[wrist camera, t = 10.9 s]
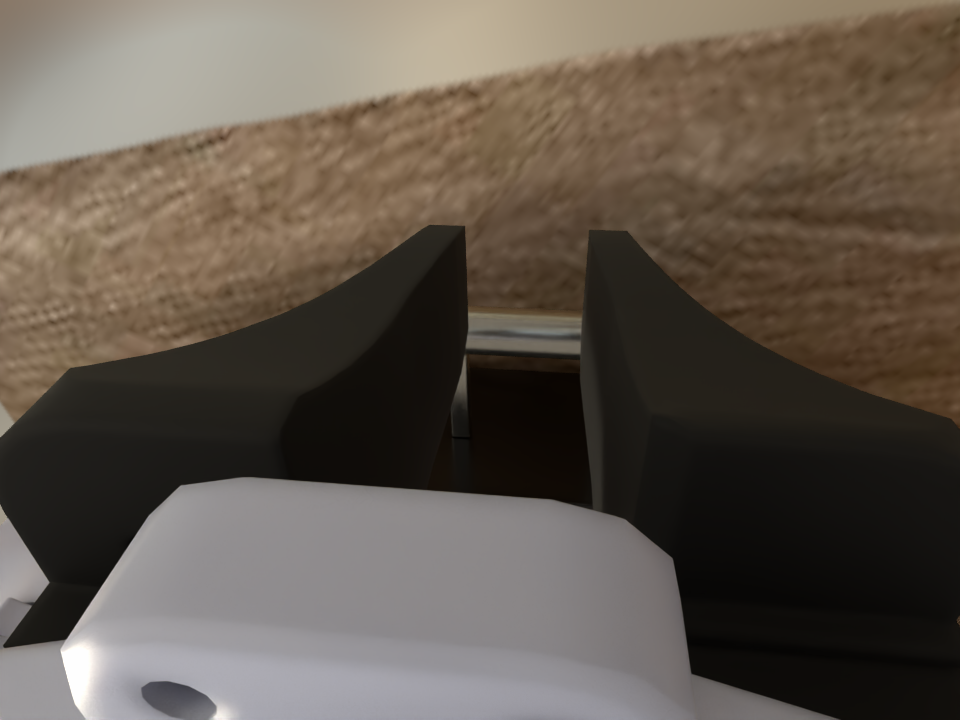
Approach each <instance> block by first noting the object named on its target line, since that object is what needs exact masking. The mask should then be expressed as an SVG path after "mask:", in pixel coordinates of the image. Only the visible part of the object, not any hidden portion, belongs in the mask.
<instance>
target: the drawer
mask: <svg viewBox="0 0 960 720" xmlns="http://www.w3.org/2000/svg"><path fill="white" fill-rule="evenodd" d="M582 314H583V311H577V310H555V309H532V308H510V307H487V306H468V324H469V329H468V335H467V342H466V349H465V355H464V361H463V367H462V373H461V376H460V380H459V383H458V386H457V390H456V393H455V396H454V399H453V403H452V406H451V409H450V412H449V416H448V419H447V422H446V425H445V428H444V432H443V435H442V438H441V441H440V445H439V448H438V451H437V454H436V457H435V461H434V464H433V467H432V470H431V474H430V478H429V482H428V486H427V490H430V491H443V492H457V493H470V494H484V495H497V496H511V497H524V498H537V499H551V500H556V501H559V502H563V503H567V504H571V505H575V506H579V507H582V508H586V509H590V510H593V499H592V483H591V473H590V464H589V455H588V447H587V438H586V429H585V420H584V411H583V402H582V393H581V384H580V374H577V373H559V372H540V371H522V370H504V369H485V368H470V357H469V354H476V355H496V356H515V357H534V358H553V359H572V360H580V353H581V326H582Z"/></svg>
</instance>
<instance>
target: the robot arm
mask: <svg viewBox="0 0 960 720" xmlns="http://www.w3.org/2000/svg"><path fill="white" fill-rule="evenodd" d="M468 329H469V324H468V296H467V267H466V239H465V226H449V225H429V226H427V227H425V228H423V229H422V230H420V231H419V232H417V233H416V234H415V235H413V236H412V237H410V238H409V239H408V240H406V241H405V242H403V243H402V244H401V245H399V246H398V247H397V248H395V249H394V250H392V251H391V252H389V253H388V254H387V255H385V256H384V257H382V258H381V259H380V260H378V261H377V262H375V263H374V264H372V265H371V266H369V267H368V268H366V269H365V270H363V271H361V272H360V273H358V274H356V275H355V276H353V277H352V278H350V279H348V280H347V281H345V282H344V283H342V284H340V285H339V286H337V287H335V288H334V289H332V290H330V291H328V292H327V293H325V294H323V295H321V296H319V297H317V298H315V299H313V300H311V301H309V302H307V303H305V304H303V305H300V306H298V307H296V308H294V309H292V310H290V311H288V312H285V313H283V314H280V315H278V316H275V317H273V318H270V319H267V320H265V321H262V322H259V323H256V324H254V325H251V326H248V327H245V328H243V329H240V330H237V331H235V332H232V333H229V334H226V335H222V336H219V337H216V338H212V339H209V340H205V341H202V342H198V343H195V344H191V345H187V346H183V347H179V348H175V349H171V350H167V351H162V352H158V353H153V354H149V355H143V356H138V357H132V358H127V359H121V360H116V361H110V362H105V363H99V364H94V365H88V366H82V367H75V368H70V369H69V370H68V371H67V372H66V373H65V374H64V375H63V376H62V377H61V378H60V379H59V380H58V381H57V382H56V383H55V384H54V385H53V386H52V387H51V388H50V389H49V390H48V391H47V392H46V393H45V394H44V395H43V396H42V397H41V398H40V399H39V400H38V401H37V402H36V403H35V404H34V405H33V406H32V407H31V408H30V409H29V410H28V411H27V412H26V413H25V414H24V415H23V416H22V417H21V418H20V419H19V420H18V421H17V422H16V423H15V424H14V425H13V426H12V427H11V428H10V429H9V430H8V431H7V432H6V433H5V434H4V435H3V436H2V437H0V505H1V507H2V509H3V511H4V512H5V514H6V516H7V518H6V519H5V520H4V522H3V523H2V524H1V525H0V720H960V627H959V625H958V623H957V621H956V620H957V619H958V617H959V616H960V429H959V428H958V427H957V426H956V424H955V423H954V422H953V421H952V419H950V418H947V417H943V416H940V415H937V414H934V413H930V412H927V411H924V410H921V409H917V408H914V407H911V406H908V405H904V404H901V403H898V402H895V401H892V400H888V399H885V398H882V397H879V396H875V395H872V394H869V393H867V392H864V391H861V390H859V389H856V388H854V387H851V386H848V385H846V384H843V383H841V382H838V381H836V380H833V379H831V378H828V377H826V376H823V375H821V374H819V373H816V372H814V371H812V370H810V369H807V368H805V367H803V366H801V365H799V364H796V363H794V362H792V361H790V360H789V359H787V358H785V357H783V356H781V355H779V354H777V353H775V352H773V351H771V350H769V349H767V348H765V347H763V346H762V345H760V344H758V343H756V342H755V341H753V340H751V339H749V338H748V337H746V336H744V335H743V334H741V333H740V332H738V331H737V330H735V329H734V328H732V327H731V326H729V325H728V324H726V323H725V322H723V321H722V320H720V319H719V318H717V317H716V316H715V315H713V314H712V313H711V312H709V311H708V310H707V309H705V308H704V307H703V306H702V305H700V304H699V303H698V302H697V301H696V300H694V299H693V298H692V297H691V296H690V295H688V294H687V293H686V292H685V291H684V290H683V289H681V288H680V287H679V286H678V285H677V284H676V283H675V282H674V281H673V280H672V279H671V278H670V277H669V276H668V275H667V274H666V273H665V272H664V271H663V270H662V269H661V268H660V267H659V266H658V265H657V264H656V263H655V262H654V261H653V260H652V259H651V258H650V257H649V256H648V254H647V253H646V252H645V251H644V250H643V249H642V248H641V247H640V245H639V244H638V243H637V242H636V241H635V240H634V239H633V237H632V236H631V235H630V234H629V233H628V232H627V231H605V230H589V241H588V253H587V265H586V277H585V290H584V302H583V314H582V326H581V353H580V384H581V393H582V402H583V411H584V420H585V429H586V438H587V447H588V455H589V464H590V473H591V483H592V499H593V510H590V509H586V508H582V507H579V506H575V505H571V504H567V503H563V502H559V501H556V500H551V499H537V498H524V497H511V496H497V495H484V494H470V493H457V492H443V491H430V490H427V486H428V482H429V478H430V474H431V470H432V467H433V464H434V461H435V457H436V454H437V451H438V448H439V445H440V441H441V438H442V435H443V432H444V428H445V425H446V422H447V419H448V416H449V412H450V409H451V406H452V403H453V399H454V396H455V393H456V390H457V386H458V383H459V380H460V376H461V373H462V367H463V361H464V355H465V349H466V342H467V335H468Z"/></svg>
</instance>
